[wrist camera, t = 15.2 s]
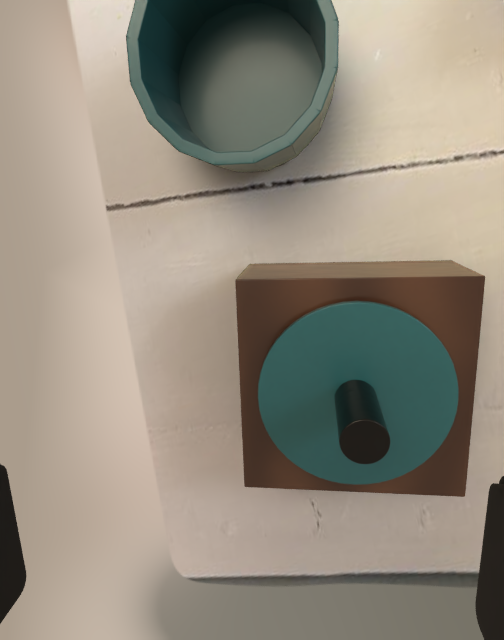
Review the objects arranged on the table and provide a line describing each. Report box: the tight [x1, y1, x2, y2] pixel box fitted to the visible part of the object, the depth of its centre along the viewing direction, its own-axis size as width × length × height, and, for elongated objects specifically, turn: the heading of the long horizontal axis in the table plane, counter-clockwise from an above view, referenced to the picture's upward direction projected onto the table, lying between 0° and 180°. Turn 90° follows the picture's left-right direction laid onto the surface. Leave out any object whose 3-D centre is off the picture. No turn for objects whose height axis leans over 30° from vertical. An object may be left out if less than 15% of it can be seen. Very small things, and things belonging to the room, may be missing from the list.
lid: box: [258, 301, 458, 485], centre depth 27 cm, size 12×12×7 cm
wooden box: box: [236, 260, 485, 497], centre depth 34 cm, size 15×15×7 cm
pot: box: [126, 0, 339, 172], centre depth 29 cm, size 11×11×8 cm
